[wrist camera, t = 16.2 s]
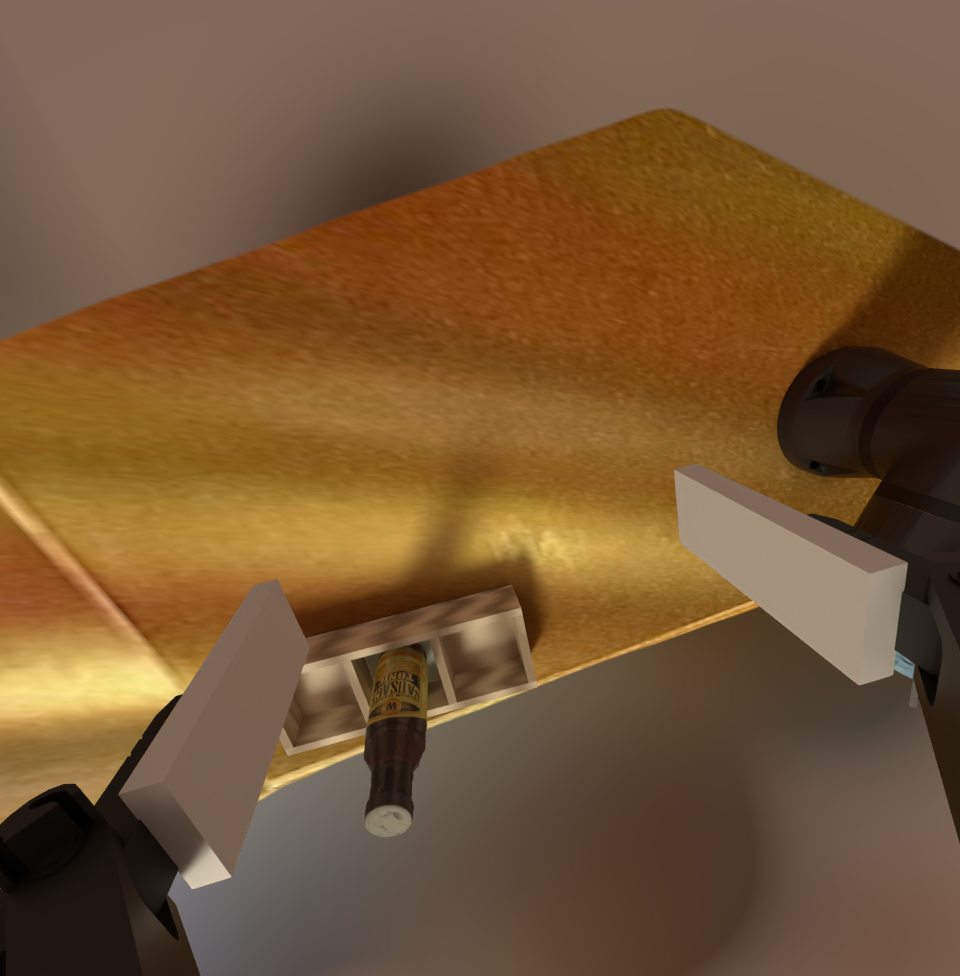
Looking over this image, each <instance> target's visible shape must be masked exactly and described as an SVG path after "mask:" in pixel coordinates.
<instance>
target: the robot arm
mask: <svg viewBox="0 0 960 976" xmlns="http://www.w3.org/2000/svg"><path fill="white" fill-rule="evenodd" d="M778 440H779V444H780V447H781V450H782V452H783V454H784V455H785V457H786V458H787V459H788V461H789V462H790V463H791V464H793V465H794V466H796V467H797V468H799V469H801V470H804V471H807V472H809V473H812V474H815V475H818V476H823V477H833V478H878V479H881V480H882V481H881V483H880V485H879V486H878V488H877V490H876V491H875V493H874V494H873V496H872V497H871V499H870V500H869V502H868V504H867V505H866V507H865V508H864V510H863V512H862V513H861V515H860V517H859V518H858V520H857V521H856V523H855V525H854V526H851V525H849V524H846V523H844V522H842V521H840V520H837V519H834V518H829V517H825V516H821V515H816V514H812V513H811V514H808V515H805V514H803V513H801V512H799V511H797V510H795V509H792V508H790V507H788V506H786V505H784V504H782V503H780V502H777V501H775V500H773V499H771V498H769V497H767V496H765V495H763V494H760V493H758V492H756V491H754V490H752V489H750V488H748V487H745V486H743V485H741V484H739V483H737V482H735V481H733V480H730V479H728V478H726V477H724V476H722V475H720V474H718V473H716V472H713V471H711V470H709V469H707V468H705V467H703V466H701V465H698V464H692V465H689V466H685V467H681V468H678V469H674V475H675V487H676V500H677V512H678V524H679V536H680V543H681V544H682V545H684V546H685V547H686V548H687V549H689V550H690V551H691V552H692V553H694V554H695V555H696V556H697V557H699V558H700V559H701V560H702V561H704V562H705V563H706V564H707V565H709V566H710V567H711V568H712V569H714V570H715V571H716V572H717V573H719V574H720V575H721V576H722V577H724V578H725V579H726V580H728V581H729V582H730V583H731V584H733V585H734V586H735V587H736V588H738V589H739V590H740V591H741V592H743V593H744V594H745V595H746V596H748V597H749V598H750V599H751V600H753V601H754V602H755V603H756V604H758V605H759V606H760V607H761V608H763V609H764V610H765V611H766V612H768V613H769V614H770V615H771V616H773V617H774V618H775V619H776V620H778V621H779V622H780V623H781V624H783V625H784V626H785V627H786V628H788V629H789V630H790V631H791V632H793V633H794V634H795V635H797V636H798V637H799V638H800V639H802V640H803V641H804V642H805V643H806V644H808V645H809V646H810V647H811V648H813V649H814V650H815V651H816V652H818V653H819V654H820V655H821V656H823V657H824V658H825V659H826V660H828V661H829V662H830V663H831V664H833V665H834V666H835V667H837V668H838V669H839V670H840V671H842V672H843V673H844V674H845V675H846V676H848V677H849V678H850V679H852V680H853V681H854V682H855V683H857V684H858V685H862V684H865V683H868V682H872V681H875V680H878V679H881V678H885V677H888V676H891V675H893V671H894V670H896V671H898V672H900V673H902V674H903V675H905V676H908V677H910V678H912V679H913V680H912V686H911V693H910V700H909V706H910V707H915V708H916V707H917V701H918V699H919V701H920V704H921V708H922V711H923V715H924V718H925V722H926V725H927V729H928V732H929V736H930V739H931V743H932V746H933V750H934V754H935V757H936V761H937V764H938V768H939V771H940V775H941V778H942V782H943V786H944V789H945V793H946V796H947V800H948V803H949V807H950V810H951V814H952V817H953V821H954V825H955V828H956V832H957V835H958V839H959V842H960V525H959V524H960V370H951V369H935V368H927V367H925V366H923V365H920V364H918V363H916V362H913V361H911V360H909V359H906V358H904V357H902V356H899V355H897V354H895V353H892V352H890V351H887V350H884V349H880V348H874V347H845V348H840V349H837V350H834V351H831V352H829V353H827V354H825V355H823V356H822V357H820V358H818V359H817V360H815V361H814V362H813V363H812V364H810V365H809V366H808V367H807V368H806V369H805V370H804V371H803V372H802V373H801V374H800V375H799V376H798V378H797V379H796V380H795V381H794V383H793V384H792V386H791V387H790V389H789V391H788V393H787V394H786V397H785V399H784V401H783V404H782V406H781V410H780V413H779V418H778ZM891 500H892V501H891ZM894 501H895V502H894ZM897 502H898V503H897ZM900 503H901V504H900ZM903 504H904V505H903ZM905 505H907V506H905ZM908 506H910V507H908ZM911 507H912V508H911ZM914 508H915V509H914ZM917 509H918V510H917ZM920 510H921V511H920ZM922 511H924V512H922ZM925 512H927V513H925ZM928 513H930V514H928ZM931 514H932V515H931ZM934 515H935V516H934ZM937 516H938V517H937ZM939 517H941V518H939ZM942 518H944V519H942ZM945 519H946V520H945ZM948 520H949V521H948ZM951 521H952V522H951ZM954 522H955V523H954ZM956 523H957V524H956ZM309 649H310V647H309V645H308V643H307V641H306V639H305V636H304V634H303V632H302V630H301V628H300V626H299V624H298V622H297V619H296V617H295V615H294V613H293V611H292V609H291V607H290V605H289V602H288V600H287V598H286V596H285V594H284V592H283V590H282V588H281V586H280V583H279V581H278V579H276V580H272V581H269V582H265V583H261V584H258V585H254V586H253V587H252V588H251V590H250V592H249V593H248V595H247V596H246V598H245V599H244V601H243V602H242V604H241V605H240V607H239V609H238V610H237V612H236V613H235V615H234V616H233V618H232V619H231V621H230V622H229V624H228V625H227V627H226V629H225V630H224V632H223V633H222V635H221V636H220V638H219V639H218V641H217V642H216V644H215V646H214V647H213V649H212V650H211V652H210V653H209V655H208V656H207V658H206V659H205V661H204V663H203V664H202V666H201V667H200V669H199V670H198V672H197V673H196V675H195V676H194V678H193V680H192V681H191V683H190V684H189V686H188V687H187V689H186V690H185V692H184V693H183V694H182V695H178V696H176V697H174V698H173V699H172V700H171V701H170V702H169V703H168V704H167V705H166V706H165V707H164V708H163V709H162V710H161V711H160V712H159V713H158V714H157V715H156V716H155V718H154V719H153V721H152V722H151V723H150V725H149V726H148V728H147V729H146V731H145V732H144V734H143V735H142V739H140V740H139V741H138V742H137V744H136V745H135V747H134V748H133V750H132V751H131V756H129V757H127V759H126V760H125V762H124V763H123V764H122V766H121V767H120V769H119V770H118V772H117V773H116V775H115V776H114V778H113V779H112V781H111V782H110V784H109V785H108V786H107V788H106V789H105V791H104V792H103V794H102V795H101V797H100V798H99V800H98V801H97V803H96V804H95V806H94V805H93V804H92V803H91V802H90V800H89V799H88V798H87V797H86V796H85V794H84V793H83V792H82V791H81V790H80V788H79V787H78V786H77V785H76V784H63V785H60V786H57V787H54V788H52V789H49V790H47V791H45V792H43V793H42V794H40V795H38V796H37V797H35V798H33V799H31V800H30V801H28V802H27V803H26V804H24V805H23V806H22V807H20V808H19V809H18V810H16V811H15V812H14V813H12V814H11V815H10V816H9V817H8V818H7V819H5V820H4V821H3V822H2V823H1V824H0V888H1V889H0V976H200V973H199V970H198V967H197V965H196V962H195V959H194V956H193V953H192V950H191V947H190V944H189V941H188V938H187V936H186V933H185V930H184V927H183V924H182V921H181V918H180V915H179V912H178V910H177V907H176V905H175V903H174V902H173V901H172V900H171V898H170V897H169V896H168V895H167V894H168V892H169V890H170V887H171V885H172V883H173V880H174V878H175V876H176V874H177V872H178V871H179V873H180V874H181V875H182V876H183V878H184V879H185V880H186V882H187V883H188V884H189V885H190V887H191V888H192V889H194V888H197V887H201V886H204V885H208V884H211V883H214V882H217V881H221V880H224V879H227V878H230V877H232V875H233V872H234V869H235V866H236V863H237V860H238V857H239V854H240V851H241V848H242V846H243V843H244V840H245V837H246V834H247V831H248V828H249V825H250V822H251V819H252V816H253V813H254V810H255V807H256V804H257V801H258V799H259V796H260V793H261V790H262V787H263V784H264V781H265V778H266V775H267V772H268V769H269V766H270V763H271V760H272V757H273V754H274V752H275V749H276V746H277V743H278V740H279V737H280V734H281V731H282V728H283V725H284V722H285V719H286V716H287V713H288V710H289V707H290V705H291V702H292V699H293V696H294V693H295V690H296V687H297V684H298V681H299V678H300V675H301V672H302V669H303V666H304V663H305V660H306V658H307V655H308V652H309Z"/></svg>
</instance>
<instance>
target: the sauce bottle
mask: <svg viewBox="0 0 960 976" xmlns="http://www.w3.org/2000/svg"><path fill="white" fill-rule="evenodd" d="M427 693H428V664H427V655H426V653H425V651H424V649H423V648H422V647H421V646H420V645H419V644H417V643H414V644H411V645H407V646H403V647H399V648H395V649H392V650H388V651H384V652H382V653H381V655H380V657H379V660H378V662H377V666H376V672H375V678H374V685H373V690H372V696H371V702H370V709H369V715H368V721H367V727H366V737H365V750H364V760H365V761H366V763H367V765H368V767H369V769H370V771H371V773H372V775H371V788H370V797H369V800H368V802H367V804H366V810H365V826H366V828H367V829H368V831H370V832H371V833H372V834H375V835H376V836H380V837H391V836H395V835H399V834H401V833H403V832H405V831H406V830H407V828H408V827H409V826H410V825H411V823H412V819H413V810H414V805H413V802H412V799H411V796H412V781H413V772H414V771H415V770H416V768H417V767H418V766H419V762H420V759H421V757H422V754H423V752H424V751H425V743H426V742H425V737H426V736H425V732H426V728H427Z"/></svg>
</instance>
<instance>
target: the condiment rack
mask: <svg viewBox="0 0 960 976" xmlns="http://www.w3.org/2000/svg"><path fill="white" fill-rule="evenodd" d="M305 639H306V641H307V643H308V645H309V647H310V649H309V652H308V655H307V658H306V660H305V663H304V666H303V669H302V672H301V675H300V678H299V681H298V684H297V687H296V690H295V693H294V696H293V699H292V702H291V705H290V707H289V710H288V713H287V716H286V719H285V722H284V725H283V728H282V731H281V734H280V737H279V739H280V741H281V743H282V745H283V747H284V749H285V751H286V753H287V755H288V756H289V755H293V754H296V753H300V752H304V751H307V750H311V749H315V748H318V747H322V746H325V745H329V744H333V743H336V742H340V741H344V740H347V739H351V738H354V737H358V736H362V735H365V734H366V727H367V721H368V715H369V709H370V702H371V696H372V690H373V685H374V678H375V672H376V666H377V662H378V660H379V657H380V655H381V653H382V652H384V651H388V650H392V649H395V648H399V647H403V646H407V645H411V644H414V643H417V644H419V645H420V646H421V647H422V648H423V649H424V651H425V653H426V655H427V664H428V693H427V717H431V716H434V715H438V714H442V713H445V712H449V711H452V710H456V709H460V708H463V707H467V706H471V705H474V704H478V703H481V702H485V701H489V700H492V699H496V698H500V697H503V696H507V695H510V694H514V693H518V692H521V691H525V690H529V689H532V688H536V687H538V686H537V682H536V677H535V672H534V667H533V663H532V658H531V653H530V648H529V643H528V639H527V634H526V629H525V624H524V620H523V615H522V610H521V606H520V604H519V601H518V599H517V596H516V593H515V591H514V588H513V586H512V584H511V585H507V586H503V587H499V588H496V589H492V590H488V591H484V592H480V593H476V594H473V595H469V596H465V597H461V598H457V599H453V600H450V601H446V602H442V603H438V604H434V605H430V606H427V607H423V608H419V609H415V610H411V611H407V612H404V613H400V614H396V615H392V616H388V617H384V618H381V619H377V620H373V621H369V622H365V623H361V624H358V625H354V626H350V627H346V628H342V629H338V630H334V631H331V632H327V633H323V634H319V635H315V636H311V637H308V638H305Z"/></svg>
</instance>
